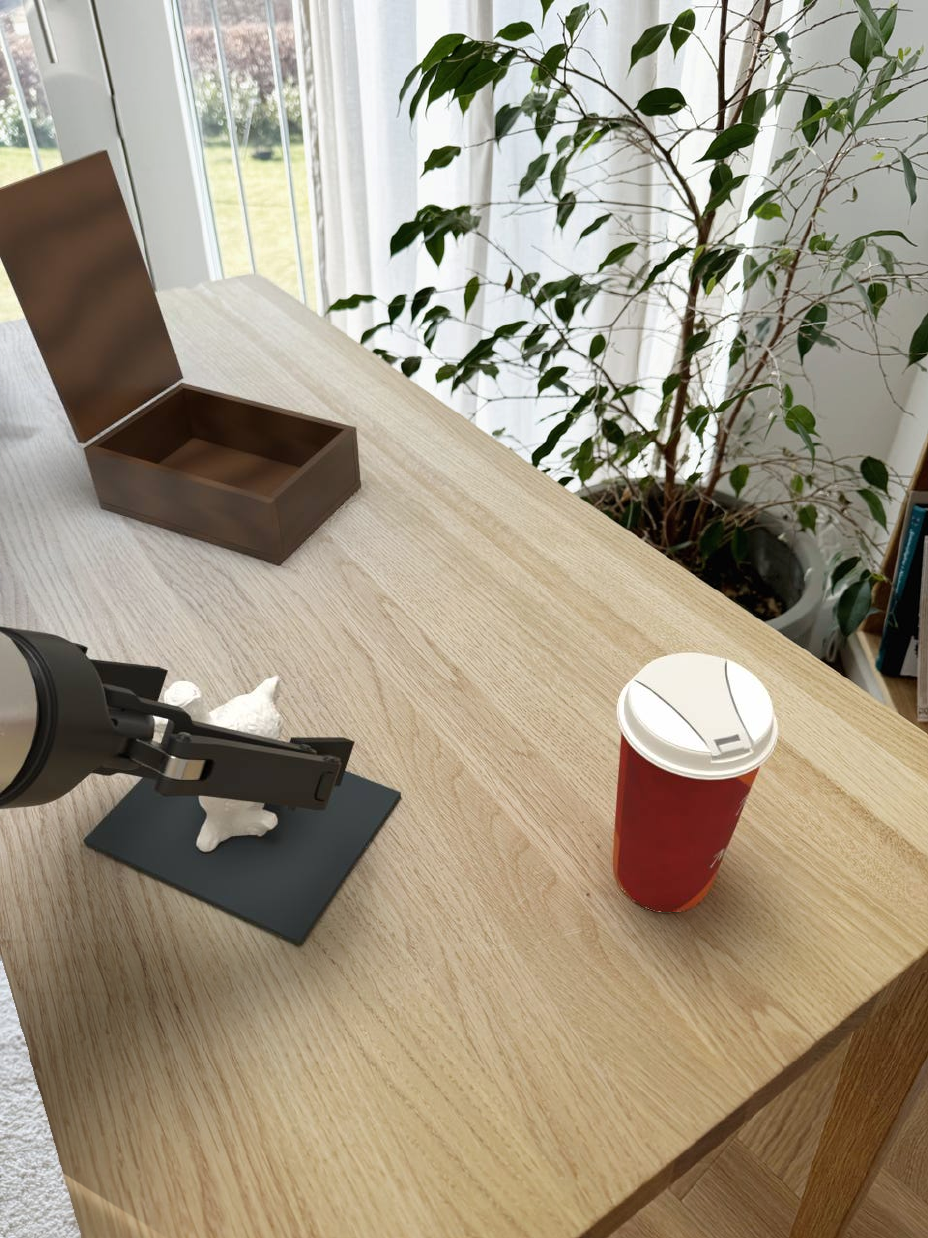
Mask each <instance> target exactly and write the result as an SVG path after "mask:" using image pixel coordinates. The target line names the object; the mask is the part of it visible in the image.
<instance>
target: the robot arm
mask: <svg viewBox="0 0 928 1238" xmlns="http://www.w3.org/2000/svg"><path fill="white" fill-rule="evenodd" d="M88 649H89V647H87V646H86V645H83V644H80V643H76V642H71V641H70V640H68V639H67V638H64V637H62V636H60V635H57V634H53V633H49V632H42V631H35V630H28V629H22V628H14V627H7V626H0V810H8V809H19V808H30V807H38V806H43V805H47V804H49V803H52V802H55V801H56V800H59V799H61V798H63V797H64V796H65V795H67V794H68V793H69V792H71V791H73V790H74V789H75V788H76V787H77V786H78V785H80V783H82V782H83V781H84V780H85V779H86V778H88V777H89V776H90V775H91V774H95V775H100V776H106V777H111V776H114V775H116V774H122V775H123V774H124V775H128V776H134V777H140V778H143V777H144V778H149V779H154V780H155V782H154V785H153V790H155V791H156V792H157V793H160V794H161V795H163V796H167V797H171V796H208V797H216V798H224V799H233V800H241V801H249V802H257V803H266V804H274V805H282V806H285V807H287V808H288V809H290V811H298V808H307V809H312V810H316V811H319V810H323V811H324V810H326V809H327V806H328V803H329V800H330V797H331V794H332V791H333V788H334V786H340V785H341V782H342V779H343V776H344V773H345V771H347V767H348V764H349V761H350V757H351V754H352V752H353V748H354V745H355V742H356V741H354V740H352V739H349V738H347V737H343V736H341V737H340V736H337V737H335V736H334V737H333V736H331V737H329V736H328V737H323V736H319V737H317V736H316V737H312V736H311V737H309V736H307V737H305V736H304V737H303V736H302V737H301V736H299V737H294V736H293V737H292V736H291V737H290V740H289V741H284V740H282V741H280V740H276V739H271V738H267V737H263V736H258V735H254V734H250V733H245V732H241V731H237V730H232V729H228V728H223V727H219V726H215V725H210V724H206V723H202V722H197V721H193V720H192V719H191V716H190V715H189V714H188V713H187V712H186V711H185V710H184V709H183V708H181V707H179V706H174V705H170V704H166V703H165V702H161V701H159V700H160V696H161V693H162V690H163V687H164V684H165V681H166V679H167V675H168V672H169V670H168V669H165V668H162V667H160V666H153V665H147V664H139V663H138V664H137V663H128V662H120V661H110V660H103V659H102V660H101V659H94V658H90V657H88V656H87V653H88ZM153 716H156V717H161V718H165V719H168V723H167V726H166V729H165V732H164V733H163V735H162V739H161V741H160V742H158V741H156V740H154V737H155V732H154V730H155V719H154V717H153Z"/></svg>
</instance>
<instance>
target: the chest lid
mask: <svg viewBox="0 0 928 1238" xmlns="http://www.w3.org/2000/svg"><path fill="white" fill-rule="evenodd" d="M130 217H131V216H130V214H129V212H128V208H127V205H126V202H125V199H124V197H123V194H122V190H121V188H120V185H119V181H118V179H117V176H116V173H115V170H114V166H113V164H112V161H111V158H110V155H109V152H108V149H100V150H97V151H94V152H92V153H89V154H87V155H84V156H81V157H79V158H76V159H73V160H70V161H68V162H65V163H63V164H59V165H57V166H55V167H52V168H49V169H47V170H44V171H41V172H38V173H36V174H33V175H31V176H28V177H25V178H22V179H21V180H18V181H15V182H12V183H9V184H7V185H4V186H1V187H0V262H1V263H2V266H3V268H4V270H5V272H6V274H7V275H6V276H7V277H8V280H9V283H10V284H11V287H12V290H13V292H14V295H15V296H16V298H17V301H18V304H19V306H20V308H21V310H22V313H23V315H24V318H25V320H26V322H27V325H28V327H29V329H30V332H31V334H32V337H33V339H34V341H35V344H36V346H37V348H38V350H39V354H40V356H41V358H42V361H43V363H44V366H45V368H46V369H47V372H48V375H49V377H50V379H51V381H52V384H53V386H54V389H55V390H56V393H57V395H58V398H59V401H60V403H61V405H62V407H63V410H64V412H65V415H66V416H67V420H68V422H69V424H70V427H71V429H72V431H73V434H74V436H75V438H76V440H77V443H78V444H86V443H88V442H89V441H91V440H92V439H94V438H95V437H97V436H99V435H100V434H102V433H103V432H104V431H106V430H108V429H109V428H111V427H112V426H113V425H115V424H117V423H118V422H120V421H121V420H123V419H125V418H126V417H127V416H128V415H130V414H132V413H134V412H135V411H136V410H138V409H139V408H141V407H142V406H144V405H145V404H147V403H148V402H150V401H152V400H153V399H154V398H156V397H157V396H159V395H160V394H162V393H163V392H165V391H167V389H170V388H171V387H172V386H174V385H175V384H177V383H179V382H180V381H182V380H183V379H184V375H183V372H182V369H181V366H180V363H179V360H178V357H177V354H176V351H175V348H174V345H173V342H172V340H171V336H170V333H169V331H168V330H169V329H168V327H167V325H166V321H165V318H164V316H163V313H162V309H161V307H160V304H159V301H158V298H157V295H156V291H155V288H154V286H153V283H152V279H151V277H150V274H149V271H148V268H147V265H146V262H145V259H144V256H143V254H142V250H141V248H140V244H139V242H138V238H137V235H136V233H135V230H134V226H133V223H132V220H131V218H130Z"/></svg>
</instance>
